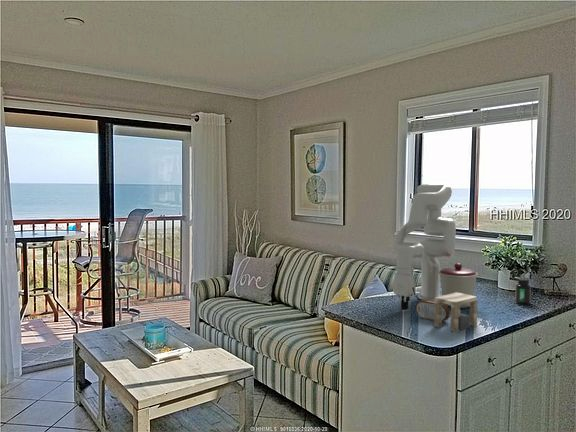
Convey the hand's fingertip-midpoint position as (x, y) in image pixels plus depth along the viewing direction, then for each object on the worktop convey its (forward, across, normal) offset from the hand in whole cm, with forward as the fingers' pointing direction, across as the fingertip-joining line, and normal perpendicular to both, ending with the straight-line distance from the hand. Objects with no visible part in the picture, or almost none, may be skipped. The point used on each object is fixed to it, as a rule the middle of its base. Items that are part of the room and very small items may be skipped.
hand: (404, 309), depth 212 cm
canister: (+1, +8, +29) cm, 30 cm away
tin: (+1, +16, 0) cm, 16 cm away
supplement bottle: (+1, +25, +58) cm, 63 cm away
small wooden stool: (+1, +28, 0) cm, 28 cm away
